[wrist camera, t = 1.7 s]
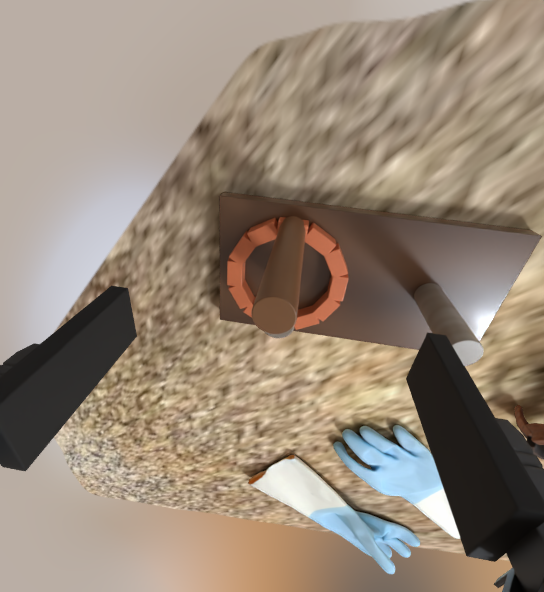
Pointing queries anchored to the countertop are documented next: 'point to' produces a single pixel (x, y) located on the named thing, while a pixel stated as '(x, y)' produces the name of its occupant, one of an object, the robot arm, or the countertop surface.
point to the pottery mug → (531, 432)
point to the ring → (285, 275)
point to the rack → (387, 271)
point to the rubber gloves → (383, 477)
